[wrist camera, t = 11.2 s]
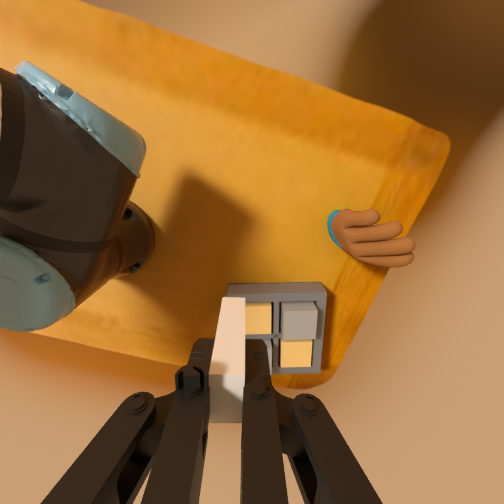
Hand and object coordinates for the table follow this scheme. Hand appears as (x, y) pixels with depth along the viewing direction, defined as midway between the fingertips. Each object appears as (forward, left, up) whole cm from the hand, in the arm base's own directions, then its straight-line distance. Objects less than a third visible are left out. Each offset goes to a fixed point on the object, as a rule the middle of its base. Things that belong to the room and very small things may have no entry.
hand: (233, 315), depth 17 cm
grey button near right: (+10, -17, -28) cm, 34 cm away
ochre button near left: (+2, -17, -30) cm, 34 cm away
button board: (+6, -21, -31) cm, 38 cm away
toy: (+20, -2, -31) cm, 37 cm away
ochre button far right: (+10, -25, -30) cm, 40 cm away
